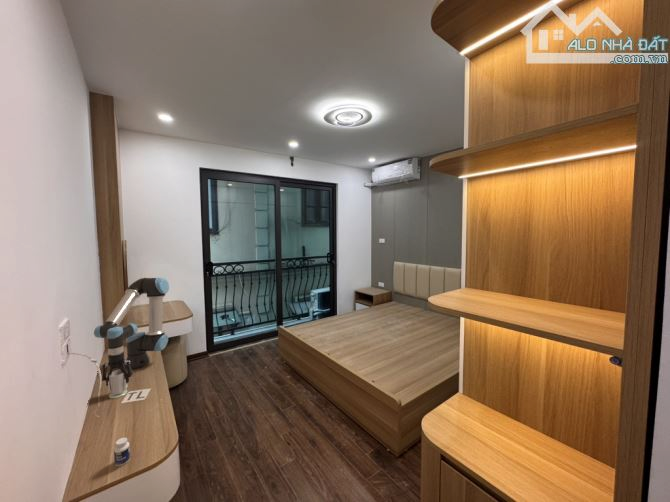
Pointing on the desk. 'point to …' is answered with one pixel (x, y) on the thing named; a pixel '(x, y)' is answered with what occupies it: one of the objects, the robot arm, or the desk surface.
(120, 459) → the pill bottle
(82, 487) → the desk surface
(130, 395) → the tile
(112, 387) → the cup
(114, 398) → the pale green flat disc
